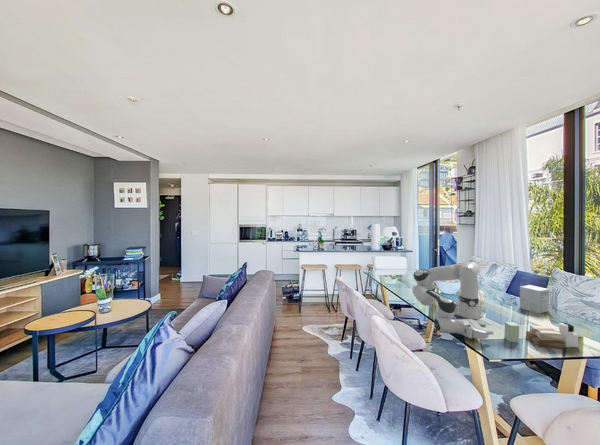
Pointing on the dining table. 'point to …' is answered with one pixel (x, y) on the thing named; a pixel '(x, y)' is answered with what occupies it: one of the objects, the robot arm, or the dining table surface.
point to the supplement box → (534, 298)
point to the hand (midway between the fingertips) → (488, 329)
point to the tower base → (544, 342)
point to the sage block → (511, 332)
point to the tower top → (545, 333)
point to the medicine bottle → (568, 335)
